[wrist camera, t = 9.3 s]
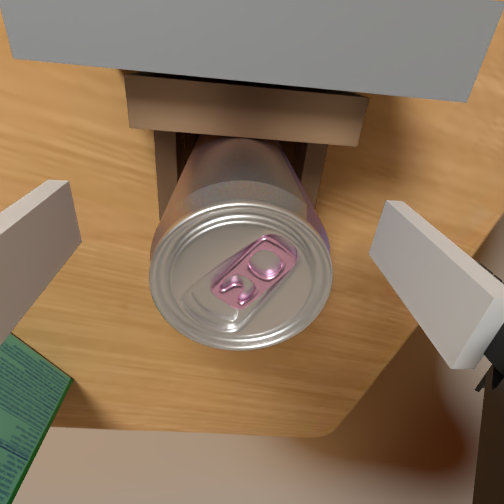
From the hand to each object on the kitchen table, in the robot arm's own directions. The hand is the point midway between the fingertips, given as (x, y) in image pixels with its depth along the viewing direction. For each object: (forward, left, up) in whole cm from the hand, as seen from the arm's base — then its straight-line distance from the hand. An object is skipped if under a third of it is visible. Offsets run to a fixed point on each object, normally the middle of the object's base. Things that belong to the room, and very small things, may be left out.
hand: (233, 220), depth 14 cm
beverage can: (0, 0, -10) cm, 11 cm away
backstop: (0, +7, -10) cm, 12 cm away
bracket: (0, +1, -10) cm, 10 cm away
